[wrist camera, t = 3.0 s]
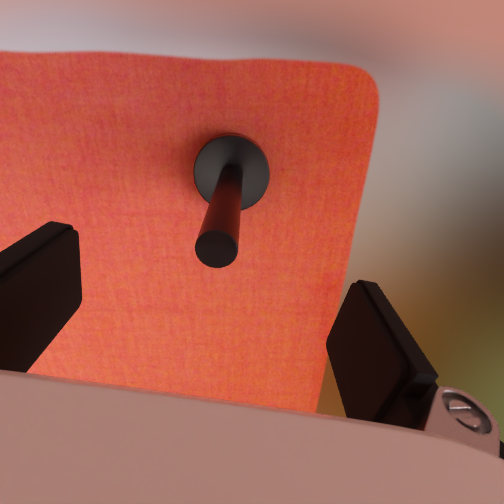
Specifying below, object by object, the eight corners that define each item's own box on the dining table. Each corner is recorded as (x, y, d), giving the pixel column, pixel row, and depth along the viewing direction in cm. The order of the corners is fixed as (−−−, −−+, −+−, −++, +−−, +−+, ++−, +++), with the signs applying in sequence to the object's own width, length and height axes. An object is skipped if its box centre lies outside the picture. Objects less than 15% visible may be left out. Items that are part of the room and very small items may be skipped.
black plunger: (181, 174, 25) (115, 254, 13) (228, 115, 23) (203, 143, 10) (236, 219, 27) (225, 327, 14) (283, 169, 25) (318, 245, 12)
